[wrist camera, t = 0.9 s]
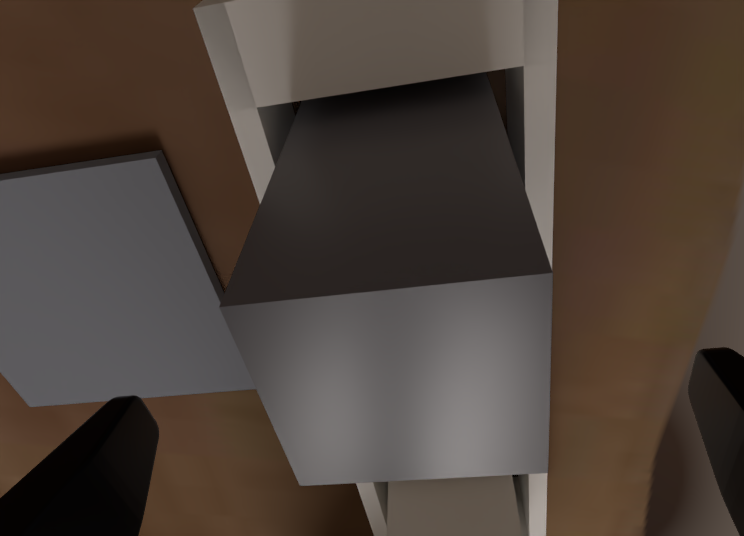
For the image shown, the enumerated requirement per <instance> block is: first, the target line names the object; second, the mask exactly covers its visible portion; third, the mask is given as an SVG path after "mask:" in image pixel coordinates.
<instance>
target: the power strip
mask: <svg viewBox="0 0 744 536" xmlns="http://www.w3.org/2000/svg"><path fill="white" fill-rule="evenodd" d="M193 10H194V13H195V16H196V19H197V22H198V25H199V28H200V31H201V34H202V36H203V39H204V42H205V45H206V48H207V51H208V54H209V57H210V60H211V63H212V66H213V69H214V71H215V74H216V77H217V80H218V83H219V86H220V89H221V92H222V95H223V98H224V101H225V103H226V106H227V109H228V112H229V115H230V118H231V121H232V124H233V127H234V130H235V133H236V135H237V138H238V141H239V144H240V147H241V150H242V153H243V156H244V159H245V162H246V165H247V168H248V170H249V173H250V176H251V179H252V182H253V185H254V188H255V191H256V194H257V197H258V200H259V202H260V204H261V201H262V199H263V196H264V194H265V191H266V189H267V186H268V184H269V181H270V179H271V176H272V174H273V171H274V169H275V166H276V164H277V161H278V159H279V156H280V154H281V151H282V149H283V146H284V144H285V141H286V139H287V136H288V134H289V131H290V129H291V126H292V124H293V121H294V119H295V113H294V109H293V106H292V102H296V101H302V100H309V99H315V98H322V97H328V96H334V95H341V94H347V93H354V92H360V91H366V90H373V89H379V88H385V87H392V86H398V85H405V84H411V83H417V82H424V81H430V80H437V79H443V78H449V77H456V76H462V75H469V74H475V73H481V72H488V71H494V70H501V69H505V83H506V114H507V136H508V139H509V142H510V145H511V148H512V151H513V154H514V157H515V160H516V163H517V166H518V169H519V172H520V175H521V178H522V182H523V185H524V188H525V191H526V194H527V197H528V200H529V203H530V206H531V209H532V212H533V215H534V218H535V221H536V224H537V227H538V230H539V233H540V236H541V239H542V242H543V245H544V248H545V251H546V254H547V257H548V260H549V263H550V266H551V269H552V245H553V201H554V157H555V114H556V70H557V26H558V0H203V1H201V2H200V3H199V4H198V5H196V6H195V7H194V8H193ZM512 478H513V484H514V490H515V496H516V502H517V508H518V514H519V521H520V527H521V533H522V536H546V507H547V473H540V474H521V475H518V477H512ZM356 485H357V488H358V491H359V494H360V496H361V499H362V502H363V505H364V508H365V511H366V514H367V517H368V520H369V523H370V526H371V529H372V531H373V534H374V536H387V513H388V481H387V482H368V483H356Z"/></svg>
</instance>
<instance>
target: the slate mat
mask: <svg viewBox="0 0 744 536" xmlns="http://www.w3.org/2000/svg"><path fill="white" fill-rule="evenodd" d="M223 296H224V292H223V290H222V287H221V285H220V283H219V280H218V278H217V276H216V274H215V271H214V269H213V267H212V264H211V262H210V260H209V257H208V255H207V253H206V251H205V248H204V246H203V244H202V241H201V239H200V237H199V235H198V232H197V230H196V228H195V225H194V223H193V221H192V219H191V216H190V214H189V212H188V209H187V207H186V205H185V203H184V200H183V198H182V196H181V193H180V191H179V189H178V187H177V184H176V182H175V180H174V177H173V175H172V173H171V171H170V168H169V166H168V164H167V161H166V159H165V157H164V155H163V152H162V150H159V151H152V152H145V153H139V154H132V155H125V156H119V157H112V158H105V159H98V160H92V161H85V162H78V163H71V164H65V165H58V166H51V167H45V168H38V169H31V170H24V171H18V172H11V173H4V174H0V372H1V373H2V375H3V376H4V377H5V378H6V379H7V380H8V382H9V383H10V384H11V385H12V386H13V388H14V389H15V390H16V391H17V392H18V393H19V395H20V396H21V397H22V398H23V399H24V401H25V402H26V403H27V404H28V405H29V407H37V406H49V405H62V404H74V403H87V402H100V401H109V400H111V399H112V398H114V397H118V396H130V395H136V396H138V397H140V398H150V397H162V396H175V395H187V394H200V393H212V392H225V391H237V390H250V389H256V388H255V385H254V383H253V381H252V379H251V377H250V374H249V372H248V370H247V368H246V366H245V363H244V361H243V359H242V357H241V354H240V352H239V350H238V348H237V346H236V343H235V341H234V339H233V337H232V335H231V332H230V330H229V328H228V326H227V324H226V321H225V319H224V317H223V315H222V313H221V310H220V308H219V306H220V304H221V301H222V299H223Z"/></svg>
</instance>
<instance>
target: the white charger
mask: <svg viewBox="0 0 744 536" xmlns="http://www.w3.org/2000/svg"><path fill="white" fill-rule="evenodd" d="M387 536H522V533H521V527H520V521H519V514H518V508H517V502H516V496H515V490H514V484H513V478H512V475H501V476H482V477H463V478H444V479H425V480H406V481H388V513H387Z"/></svg>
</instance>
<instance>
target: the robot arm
mask: <svg viewBox="0 0 744 536" xmlns="http://www.w3.org/2000/svg"><path fill="white" fill-rule="evenodd" d="M688 394H689V399H690V403H691V406H692V409H693V412H694V414H695V418H696V421H697V424H698V427H699V430H700V432H701V435H702V439H703V442H704V445H705V448H706V451H707V454H708V457H709V460H710V463H711V466H712V469H713V472H714V475H715V478H716V481H717V484H718V486H719V489H720V492H721V495H722V497H723V499H724V502H725V504H726V506H727V508H728V511H729V513H730V515H731V518H732V520H733V522H734V524H735V526H736V528H737V531H738V532H739V535H740V536H744V357H743V356H742V355H740V354H738V353H737V352H735V351H734V350H732V349H729V348H725V347H722V348H710V349H702V350H699V351H698V352H697V354H696V356H695V360H694V364H693V368H692V372H691V376H690V380H689V385H688ZM158 439H159V428H158V425H157V422H156V421H155V419H154V418H153V416H152V415H151V413H150V411H149V410H148V408H147V407H146V405H145V404H144V402H143V401H142V399H141V398H140V397H138V396H136V395H130V396H118V397H114V398H112V399H111V400H109V401H108V402H107V403H106V404H105V405H104V406H103V407H101V408H100V409H99V410H98V411H97V412H96V413H95V414H94V415H93V416H91V417H90V418H89V419H88V420H87V421H86V422H85V423H84V424H82V425H81V426H80V427H79V428H78V429H77V430H76V431H75V432H74V433H72V434H71V435H70V436H69V437H68V438H67V439H66V440H65V441H64V442H62V443H61V444H60V445H59V446H58V447H57V448H56V449H55V450H53V451H52V452H51V453H50V454H49V455H48V456H47V457H46V458H45V459H43V460H42V461H41V462H40V463H39V464H38V465H37V466H36V467H35V468H33V469H32V470H31V471H30V472H29V473H28V474H27V475H26V476H24V477H23V478H22V479H21V480H20V481H19V482H18V483H17V484H16V485H14V486H13V487H12V488H11V489H10V490H9V491H8V492H7V493H6V494H4V495H3V496H2V497H1V498H0V536H138V535H139V531H140V527H141V524H142V520H143V515H144V511H145V506H146V501H147V496H148V491H149V486H150V480H151V475H152V470H153V465H154V460H155V455H156V450H157V444H158Z"/></svg>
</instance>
